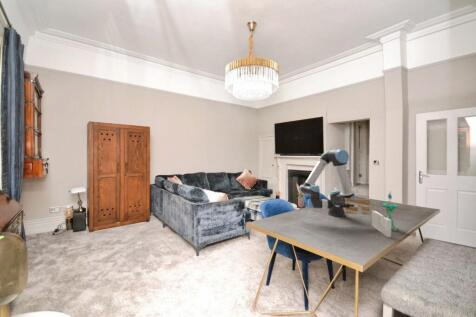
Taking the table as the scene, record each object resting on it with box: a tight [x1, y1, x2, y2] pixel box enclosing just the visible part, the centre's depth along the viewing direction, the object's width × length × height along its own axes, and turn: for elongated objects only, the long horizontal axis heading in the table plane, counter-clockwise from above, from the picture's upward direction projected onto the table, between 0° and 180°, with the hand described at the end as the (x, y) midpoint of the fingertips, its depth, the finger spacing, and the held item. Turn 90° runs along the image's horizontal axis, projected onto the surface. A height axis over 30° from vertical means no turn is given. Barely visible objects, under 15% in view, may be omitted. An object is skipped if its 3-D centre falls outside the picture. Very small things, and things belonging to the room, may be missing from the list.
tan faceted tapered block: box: [344, 198, 371, 215], centre depth 177 cm, size 2×18×12 cm, turn 79°
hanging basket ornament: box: [381, 190, 399, 232], centre depth 170 cm, size 11×11×30 cm
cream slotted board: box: [371, 210, 392, 238], centre depth 165 cm, size 26×2×12 cm, turn 169°
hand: (357, 205), depth 177 cm, fingers closed on tan faceted tapered block, 2 cm apart
